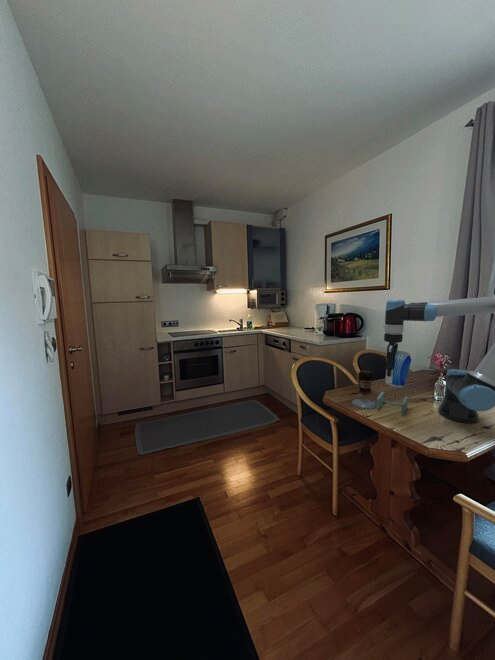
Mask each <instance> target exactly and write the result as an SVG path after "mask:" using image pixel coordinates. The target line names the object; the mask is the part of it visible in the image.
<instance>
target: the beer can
mask: <svg viewBox="0 0 495 660" xmlns="http://www.w3.org/2000/svg"><path fill="white" fill-rule="evenodd" d="M411 362H412V358H411V354H410V353H409V352H406V351H403V350H397V351H396V354H395V355H394V360H393V378H392V383H387V382H385V384H387V385H388V386H390V387H393V388H397V389H400V388H404V386H405V385H406V383H407V378H408V374H409V371H410V368H411V364H412V363H411ZM384 380H385V381H386V376H385V378H384Z"/></svg>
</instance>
